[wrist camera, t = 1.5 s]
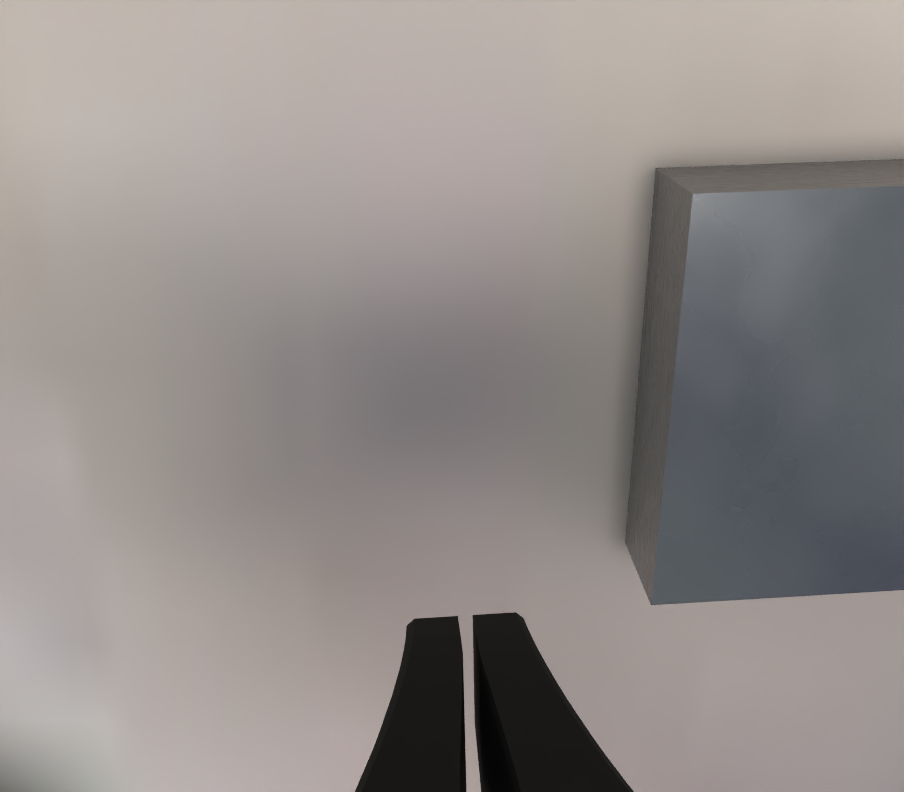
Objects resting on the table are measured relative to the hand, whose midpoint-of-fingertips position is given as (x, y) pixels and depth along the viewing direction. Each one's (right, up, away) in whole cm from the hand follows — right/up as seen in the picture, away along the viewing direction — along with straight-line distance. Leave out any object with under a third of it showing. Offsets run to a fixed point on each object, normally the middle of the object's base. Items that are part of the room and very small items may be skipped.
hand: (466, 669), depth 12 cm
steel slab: (+9, +5, +9) cm, 14 cm away
